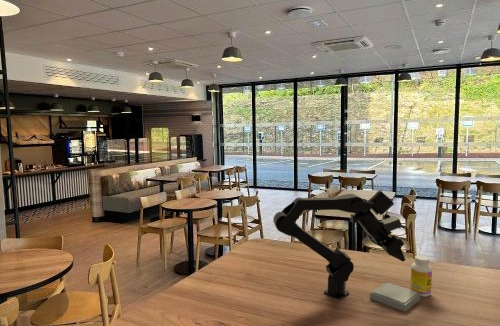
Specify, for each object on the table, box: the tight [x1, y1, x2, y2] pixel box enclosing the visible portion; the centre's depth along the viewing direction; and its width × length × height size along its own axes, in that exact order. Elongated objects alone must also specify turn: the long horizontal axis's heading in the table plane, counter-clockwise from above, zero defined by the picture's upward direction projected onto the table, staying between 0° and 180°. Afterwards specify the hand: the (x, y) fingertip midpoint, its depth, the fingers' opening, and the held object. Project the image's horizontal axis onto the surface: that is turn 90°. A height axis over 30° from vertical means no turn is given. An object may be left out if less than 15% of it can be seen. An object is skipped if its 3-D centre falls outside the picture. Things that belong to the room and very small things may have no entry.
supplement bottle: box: [409, 254, 433, 298], centre depth 126 cm, size 7×7×13 cm
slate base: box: [369, 281, 422, 312], centre depth 122 cm, size 12×12×2 cm
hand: (397, 255), depth 127 cm, fingers open, 9 cm apart
